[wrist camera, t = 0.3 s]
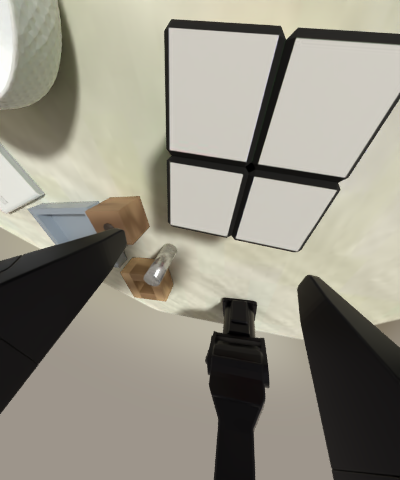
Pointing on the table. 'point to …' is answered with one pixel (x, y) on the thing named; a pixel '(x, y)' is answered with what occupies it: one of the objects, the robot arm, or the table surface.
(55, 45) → the cereal bowl
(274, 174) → the puzzle cube
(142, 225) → the block
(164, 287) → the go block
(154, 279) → the cylinder
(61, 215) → the tray
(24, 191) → the external hard drive
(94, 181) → the table surface
